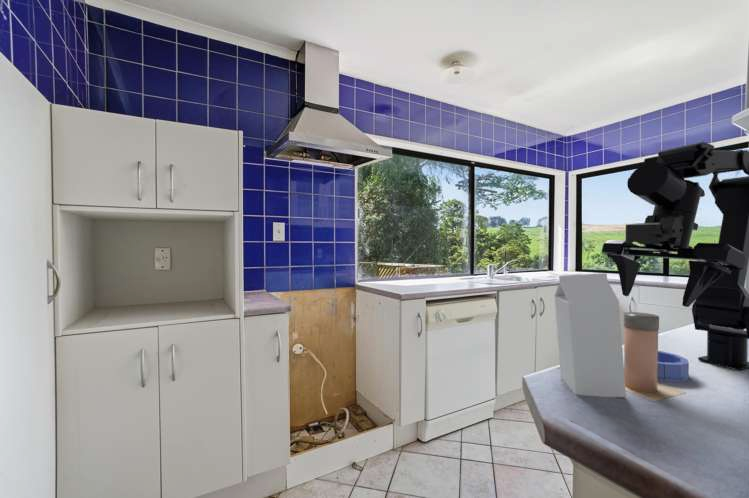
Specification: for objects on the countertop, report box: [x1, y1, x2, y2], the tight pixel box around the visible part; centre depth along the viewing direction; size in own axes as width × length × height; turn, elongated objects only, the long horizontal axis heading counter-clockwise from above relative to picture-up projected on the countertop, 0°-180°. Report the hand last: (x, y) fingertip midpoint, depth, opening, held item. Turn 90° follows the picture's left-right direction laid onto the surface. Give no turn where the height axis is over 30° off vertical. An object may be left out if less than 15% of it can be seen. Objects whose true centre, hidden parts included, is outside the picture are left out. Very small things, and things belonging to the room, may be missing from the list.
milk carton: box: [554, 272, 627, 398], centre depth 57 cm, size 7×7×19 cm
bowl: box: [658, 350, 690, 383], centre depth 63 cm, size 9×9×4 cm
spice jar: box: [623, 311, 660, 393], centre depth 56 cm, size 5×5×12 cm
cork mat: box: [625, 383, 686, 402], centre depth 57 cm, size 8×8×1 cm
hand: (653, 300), depth 59 cm, fingers open, 9 cm apart
